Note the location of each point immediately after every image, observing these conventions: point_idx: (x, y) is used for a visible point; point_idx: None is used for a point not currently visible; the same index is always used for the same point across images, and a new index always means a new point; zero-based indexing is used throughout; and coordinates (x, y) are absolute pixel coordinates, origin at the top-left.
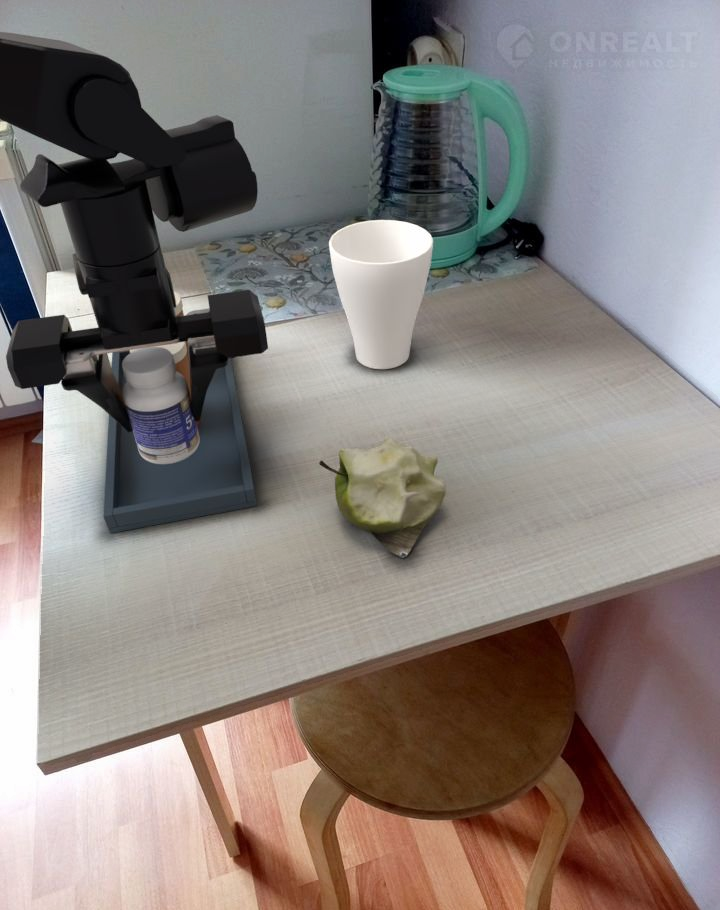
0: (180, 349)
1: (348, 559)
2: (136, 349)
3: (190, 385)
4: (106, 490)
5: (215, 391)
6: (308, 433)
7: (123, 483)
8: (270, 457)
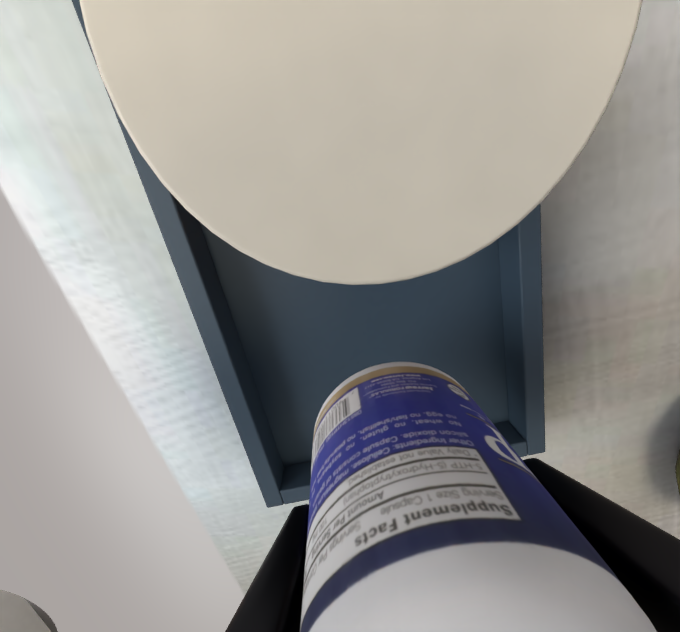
0: (593, 126)
1: (635, 514)
2: (174, 92)
3: (634, 577)
4: (249, 450)
5: None
6: (658, 213)
7: (264, 381)
8: (558, 295)
